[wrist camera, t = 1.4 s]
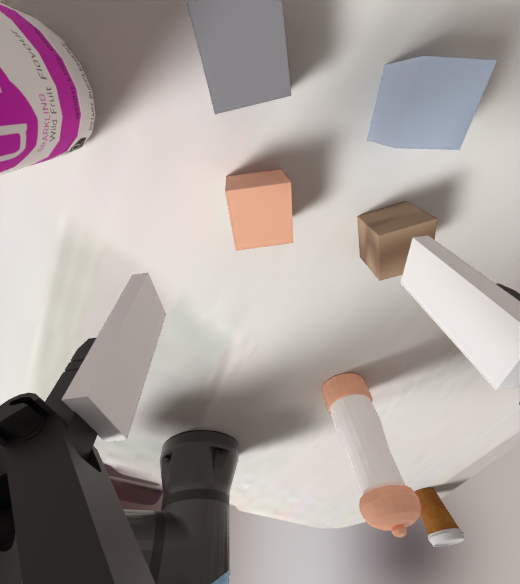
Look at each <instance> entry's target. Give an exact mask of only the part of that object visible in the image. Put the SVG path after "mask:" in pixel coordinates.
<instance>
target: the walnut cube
mask: <svg viewBox="0 0 520 584" xmlns="http://www.w3.org/2000/svg"><path fill="white" fill-rule="evenodd" d="M357 218H358V233H359V248H360V258H361V259H362V260H363V261H364V262H365V264H366V265H367V266H368V267H369V268H370V270H371V271H372V272H373V273H374V275H375V276H376V277H377V278H378V279H379V281H380V280H384V279H388V278H391V277H395V276H398V275H402V274H403V272H404V268H405V264H406V261H407V257H408V253H409V249H410V246H411V242H412V238H413V237H420V236H430V237H431V238H432V239H434V240H435V232H436V224H437V218H435V217H433V216H432V215H430V214H428V213H426V212H425V211H423V210H421V209H419V208H417V207H416V206H414V205H412V204H410V203H409V202H407V201H406V202H402V203H399V204H396V205H392V206H389V207H386V208H383V209H379V210H376V211H373V212H369V213H366V214H363V215H360V216H357Z"/></svg>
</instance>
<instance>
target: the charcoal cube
mask: <svg viewBox="0 0 520 584" xmlns="http://www.w3.org/2000/svg"><path fill="white" fill-rule="evenodd" d="M187 4H188V8H189V12H190V16H191V20H192V24H193V28H194V32H195V36H196V40H197V44H198V48H199V52H200V56H201V60H202V64H203V68H204V72H205V76H206V80H207V84H208V88H209V92H210V96H211V100H212V104H213V108H214V112H215V114H218V113H222V112H226V111H230V110H234V109H238V108H242V107H247V106H251V105H255V104H259V103H263V102H267V101H271V100H275V99H279V98H283V97H287V96H291V87H290V77H289V67H288V57H287V47H286V37H285V27H284V17H283V7H282V0H195V1H191V2H188V3H187Z"/></svg>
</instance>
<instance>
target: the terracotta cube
mask: <svg viewBox="0 0 520 584" xmlns="http://www.w3.org/2000/svg"><path fill="white" fill-rule="evenodd" d="M225 193H226V198H227V204H228V209H229V215H230V220H231V226H232V231H233V237H234V243H235V248H236V251H237V250H244V249H251V248H258V247H266V246H273V245H280V244H288V243H293V223H292V194H291V181H290V180H289V179H288V177H287V176H286V175H285V173H284V172H283V171H282V169H276V170H269V171H261V172H254V173H246V174H239V175H232V176H226V188H225Z"/></svg>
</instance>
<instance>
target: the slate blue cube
mask: <svg viewBox="0 0 520 584" xmlns="http://www.w3.org/2000/svg"><path fill="white" fill-rule="evenodd" d="M496 62H497V60H487V59H469V58H452V57H435V56H420V57H416V58H411V59H407V60H403V61H399V62H395V63H390V64H386V65H385V66H384V70H383V75H382V79H381V83H380V87H379V92H378V96H377V100H376V104H375V109H374V113H373V117H372V121H371V126H370V130H369V134H368V138H367V140H368V141H372V142H375V143H379V144H382V145H386V146H389V147H393V148H407V149H447V150H460V147H461V145H462V143H463V140H464V138H465V136H466V133H467V131H468V129H469V126H470V124H471V121H472V119H473V117H474V114H475V112H476V110H477V107H478V105H479V103H480V100H481V98H482V95H483V93H484V91H485V88H486V86H487V84H488V81H489V79H490V77H491V74H492V72H493V70H494V67H495V65H496Z"/></svg>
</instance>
